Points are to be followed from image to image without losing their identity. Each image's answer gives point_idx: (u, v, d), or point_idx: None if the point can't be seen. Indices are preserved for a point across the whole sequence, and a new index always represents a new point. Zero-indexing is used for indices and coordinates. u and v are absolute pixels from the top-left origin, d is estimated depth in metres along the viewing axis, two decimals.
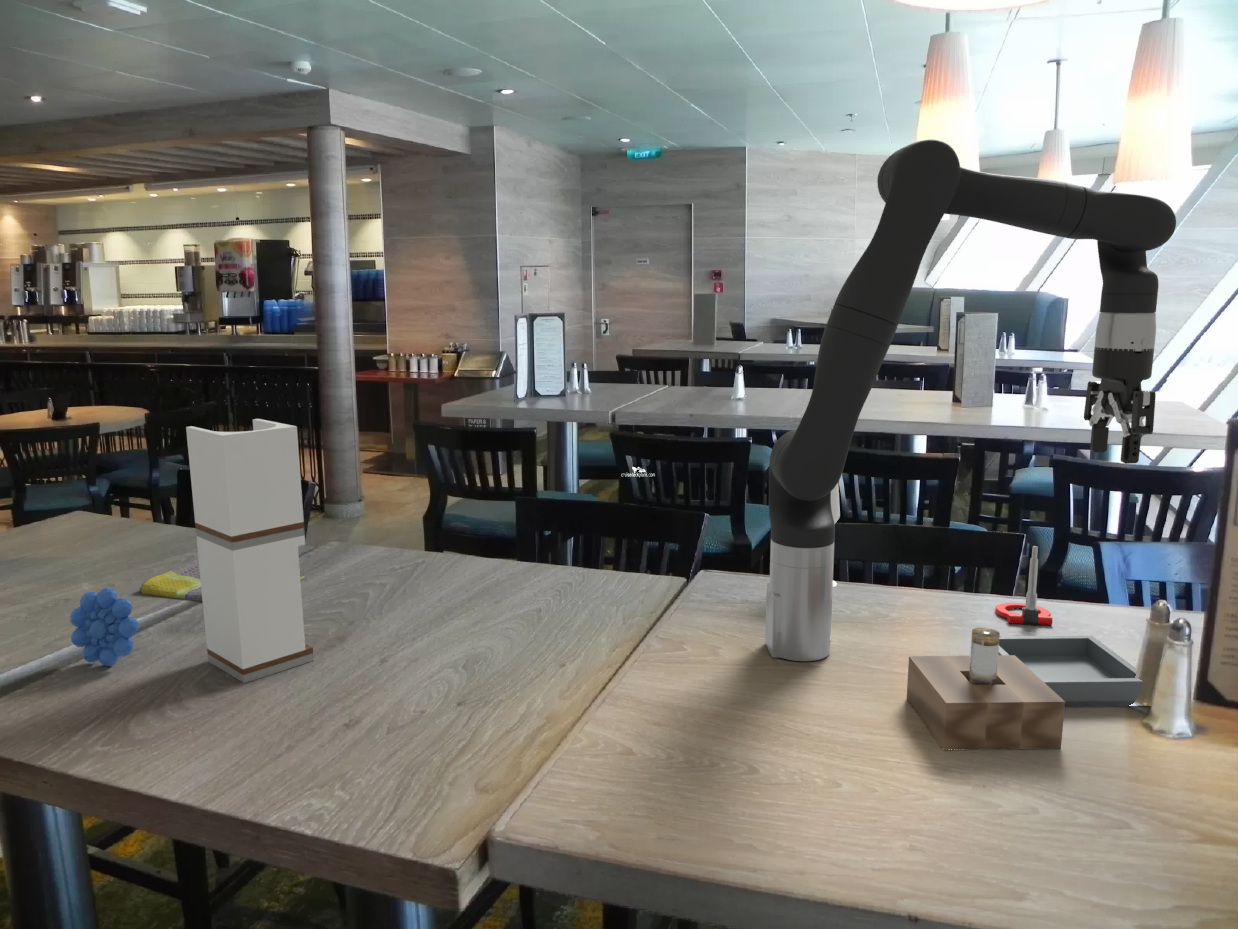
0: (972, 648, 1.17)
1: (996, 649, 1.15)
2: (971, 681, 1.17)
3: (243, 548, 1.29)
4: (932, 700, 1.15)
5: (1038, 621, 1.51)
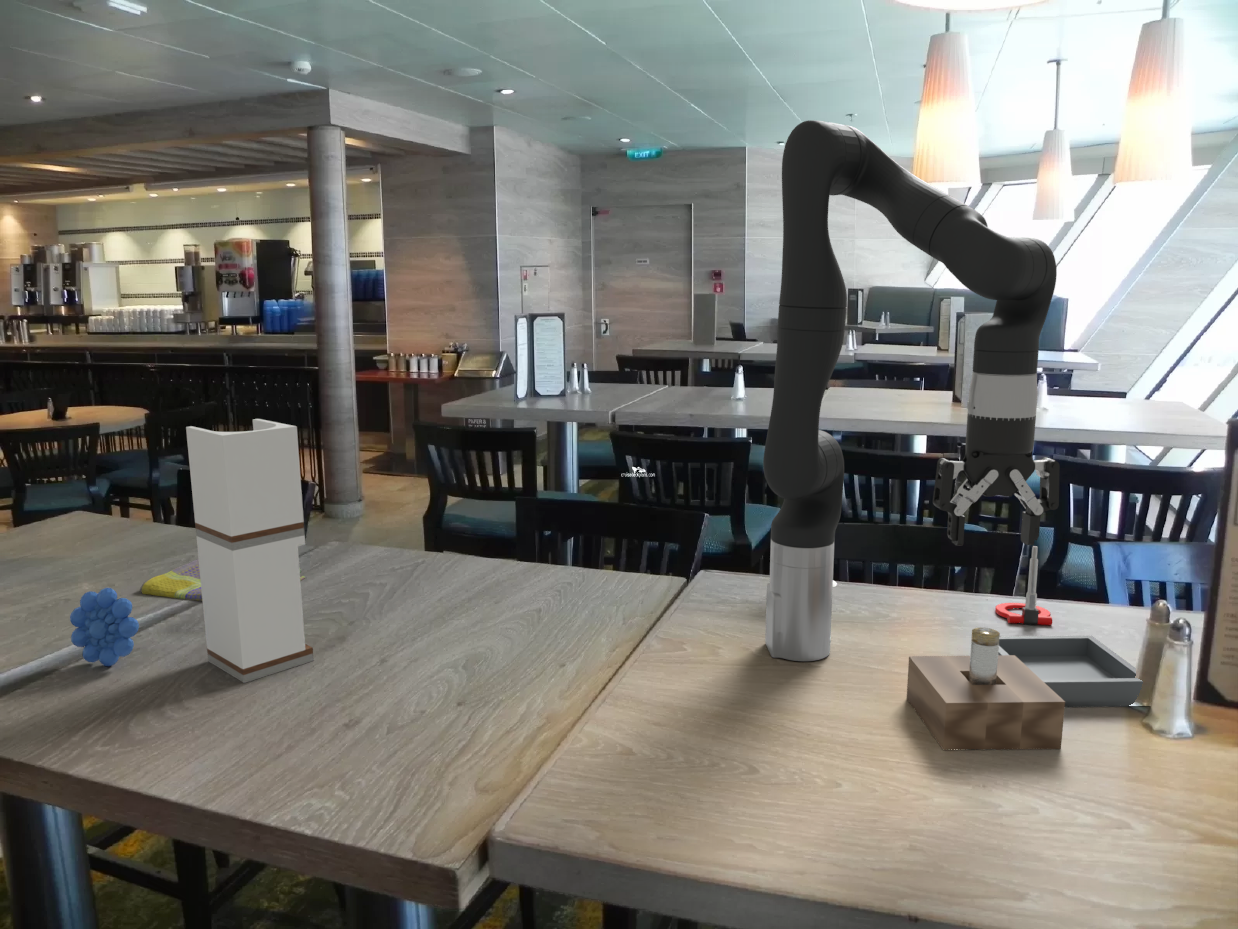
0: (972, 648, 1.17)
1: (996, 649, 1.15)
2: (971, 681, 1.17)
3: (243, 548, 1.29)
4: (932, 700, 1.15)
5: (1038, 621, 1.52)
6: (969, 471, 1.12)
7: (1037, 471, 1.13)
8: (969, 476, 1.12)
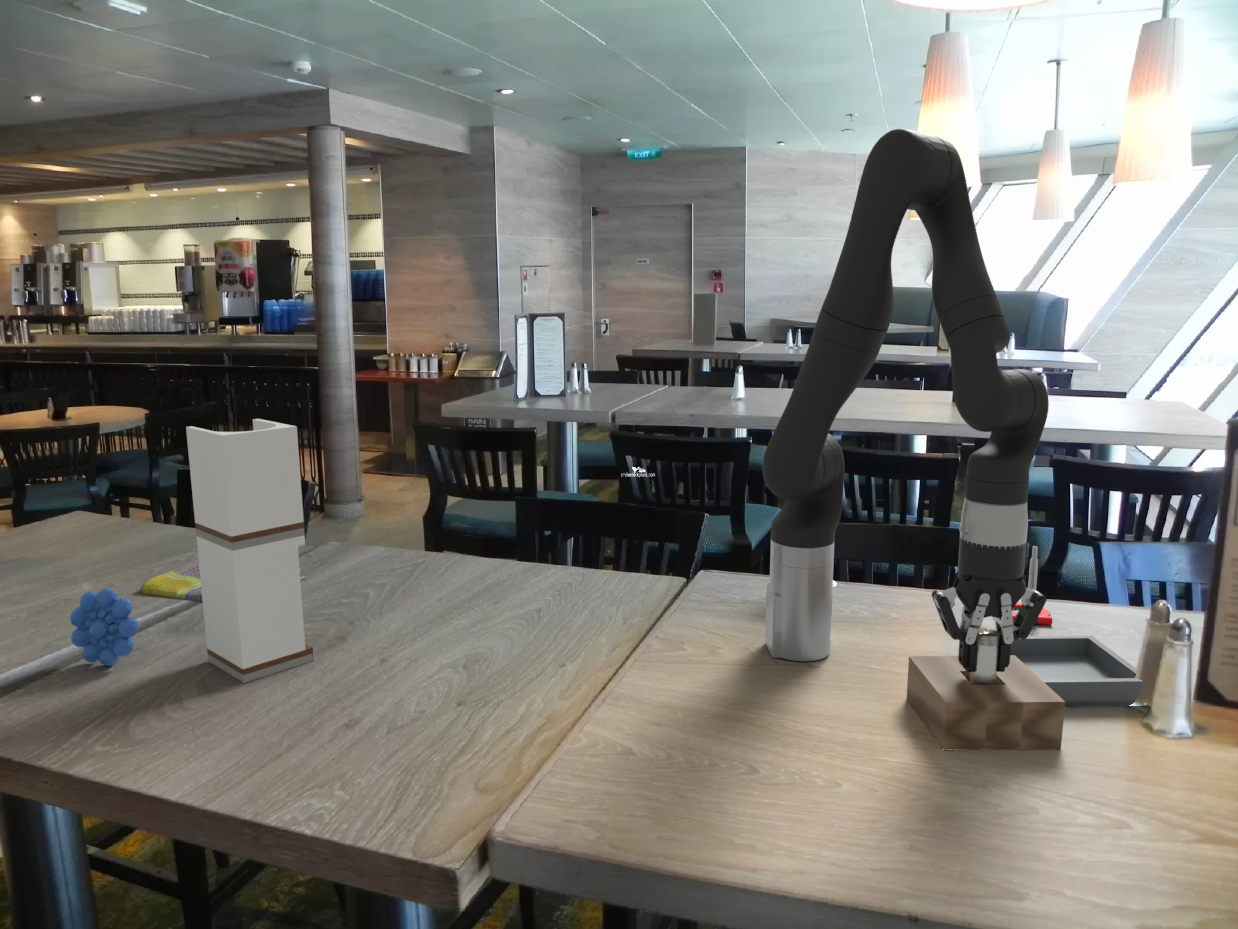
0: None
1: (996, 649, 1.15)
2: (971, 681, 1.17)
3: (243, 548, 1.29)
4: (932, 700, 1.15)
5: (1038, 621, 1.52)
6: (963, 596, 1.14)
7: (1023, 598, 1.16)
8: (961, 598, 1.15)
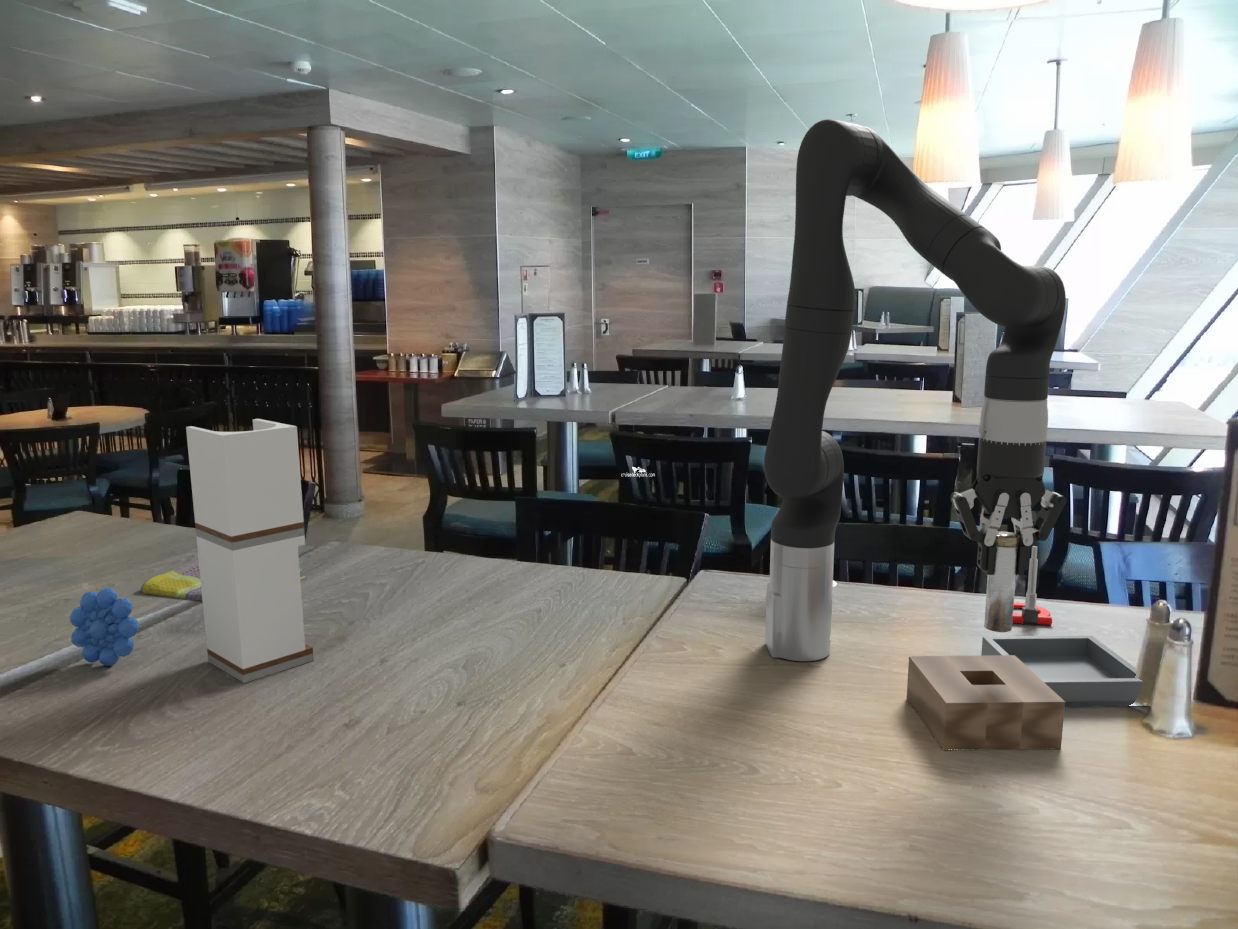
0: None
1: (1015, 551, 1.15)
2: (990, 584, 1.16)
3: (243, 548, 1.29)
4: (932, 700, 1.15)
5: (1038, 621, 1.52)
6: (982, 496, 1.14)
7: (1043, 500, 1.15)
8: (980, 499, 1.14)
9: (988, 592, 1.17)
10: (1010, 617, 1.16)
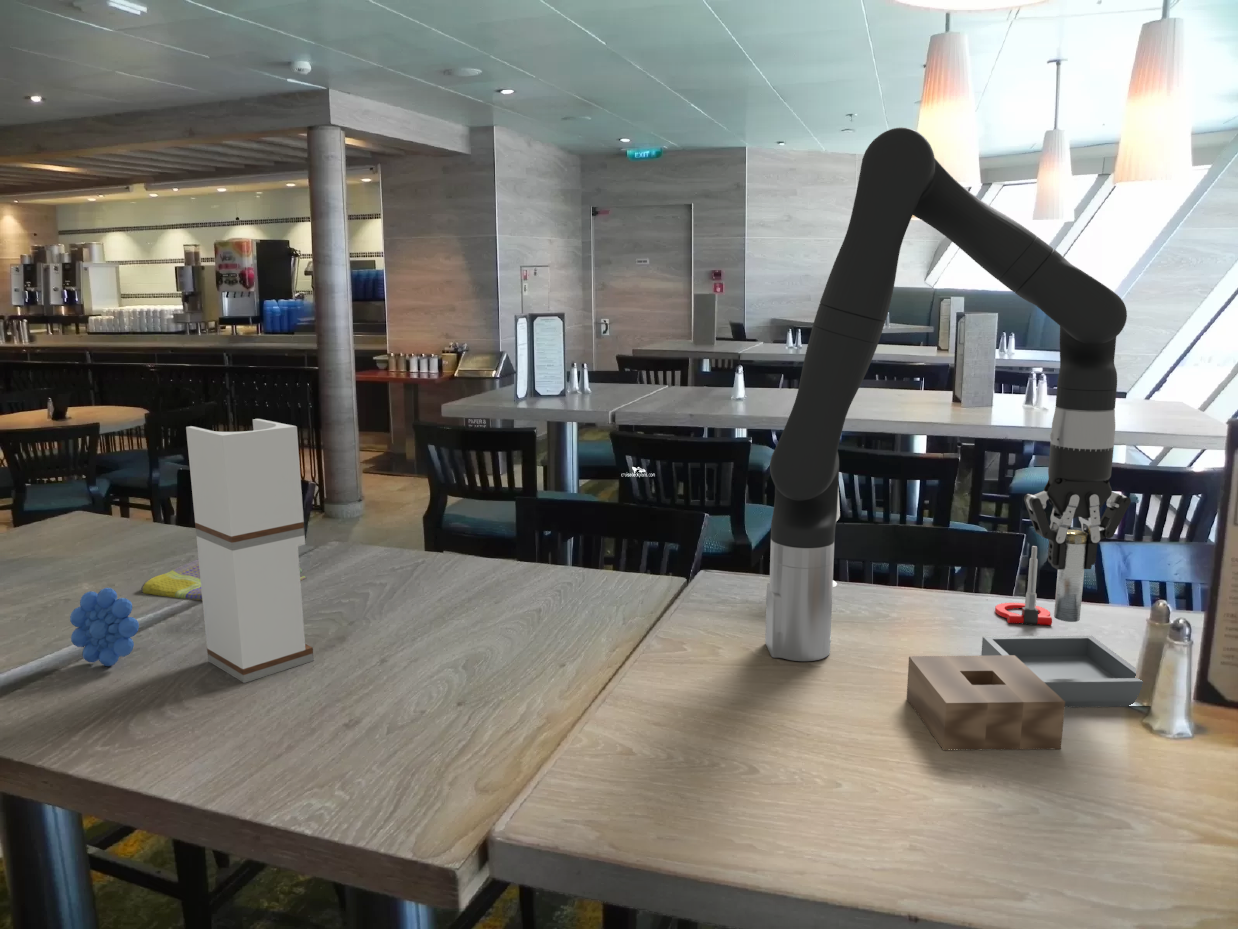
0: None
1: (1084, 547, 1.26)
2: (1060, 578, 1.27)
3: (243, 548, 1.29)
4: (932, 700, 1.15)
5: (1038, 621, 1.52)
6: (1054, 497, 1.25)
7: (1109, 500, 1.26)
8: (1052, 500, 1.25)
9: (1058, 585, 1.28)
10: (1079, 608, 1.27)
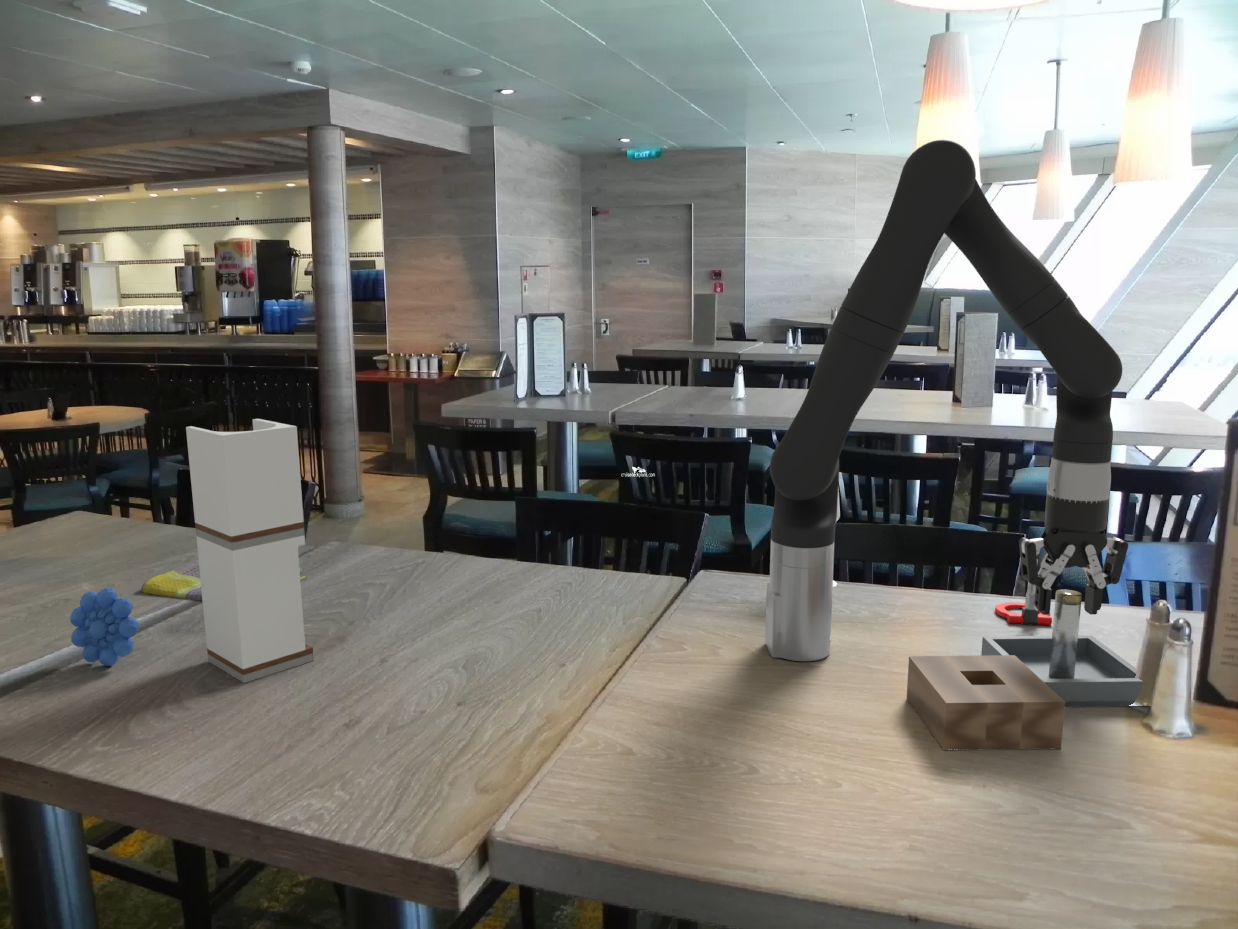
0: (1056, 608, 1.28)
1: (1079, 608, 1.27)
2: (1055, 638, 1.29)
3: (243, 548, 1.29)
4: (932, 700, 1.15)
5: (1038, 621, 1.52)
6: (1049, 546, 1.26)
7: (1107, 547, 1.27)
8: (1048, 550, 1.26)
9: (1053, 644, 1.29)
10: (1073, 667, 1.29)
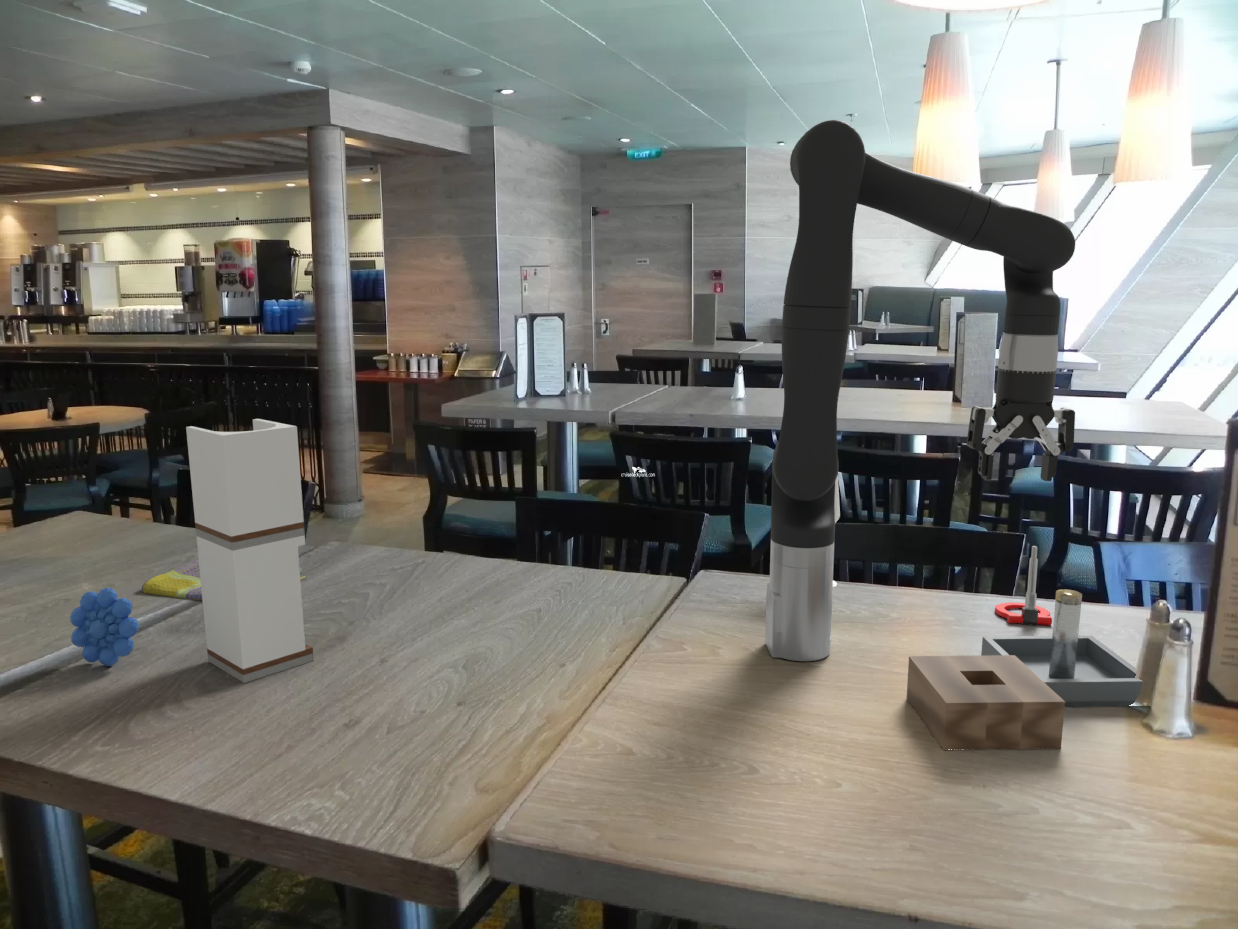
0: (1056, 607, 1.28)
1: (1079, 608, 1.27)
2: (1055, 638, 1.29)
3: (243, 548, 1.29)
4: (932, 700, 1.15)
5: (1038, 621, 1.52)
6: (998, 416, 1.33)
7: (1056, 418, 1.34)
8: (998, 421, 1.33)
9: (1053, 644, 1.29)
10: (1073, 667, 1.29)
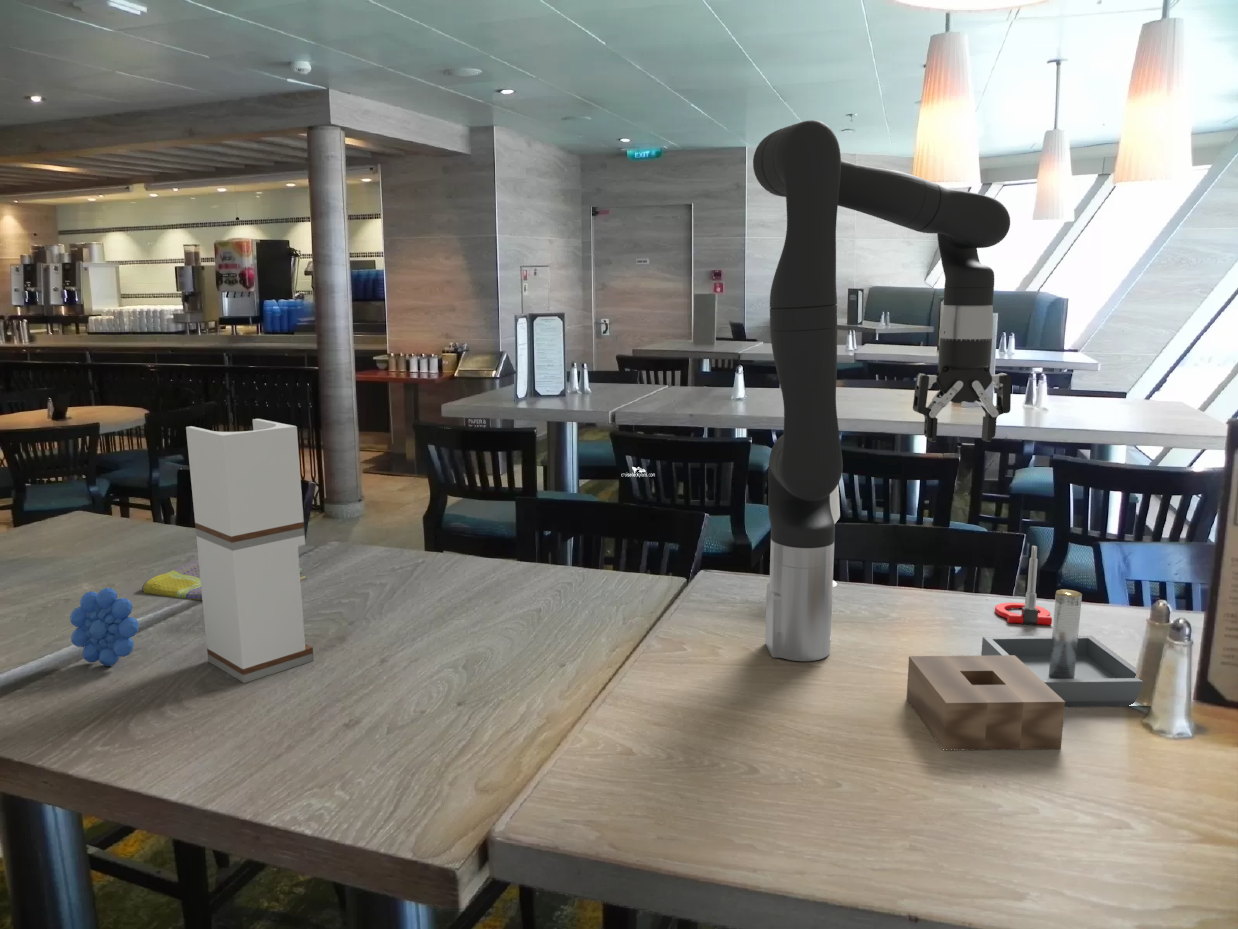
0: (1056, 608, 1.28)
1: (1079, 608, 1.27)
2: (1055, 638, 1.29)
3: (243, 548, 1.29)
4: (932, 700, 1.15)
5: (1037, 621, 1.52)
6: (940, 382, 1.44)
7: (994, 383, 1.45)
8: (941, 386, 1.44)
9: (1053, 644, 1.29)
10: (1073, 667, 1.29)
